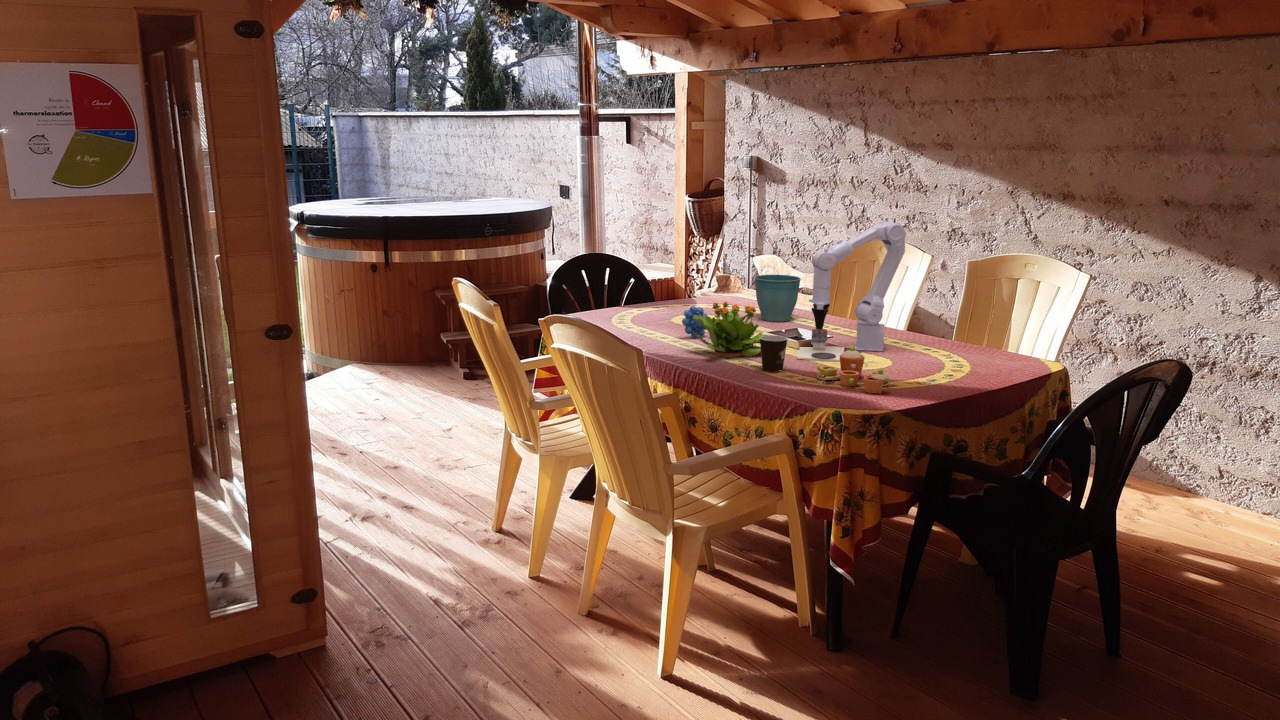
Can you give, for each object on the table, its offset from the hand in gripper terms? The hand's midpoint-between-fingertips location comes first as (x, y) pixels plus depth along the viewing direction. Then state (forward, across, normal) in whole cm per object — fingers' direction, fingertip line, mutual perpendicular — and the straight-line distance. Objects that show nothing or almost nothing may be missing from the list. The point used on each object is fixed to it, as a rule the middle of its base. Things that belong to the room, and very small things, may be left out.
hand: (819, 326), depth 323 cm
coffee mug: (+9, +29, -12) cm, 33 cm away
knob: (+5, 0, 0) cm, 5 cm away
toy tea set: (+9, +41, +14) cm, 44 cm away
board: (+8, +5, +1) cm, 10 cm away
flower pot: (+9, -53, -19) cm, 57 cm away
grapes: (+9, -10, -44) cm, 46 cm away
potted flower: (+9, +13, -30) cm, 34 cm away
